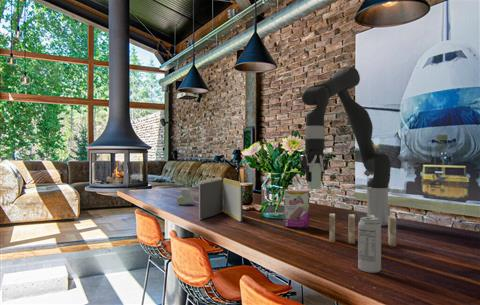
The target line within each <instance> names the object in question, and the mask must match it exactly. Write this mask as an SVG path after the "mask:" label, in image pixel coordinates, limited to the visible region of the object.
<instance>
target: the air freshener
mask: <svg viewBox="0 0 480 305" xmlns="http://www.w3.org/2000/svg"><path fill="white" fill-rule="evenodd" d="M194 201H195V198H194V197H193V195H191V189H190V188H180V195H179V196H178V197H177V198H176V202H177V204H180V205H181V206H189V205H192V204H193V203H194Z"/></svg>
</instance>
